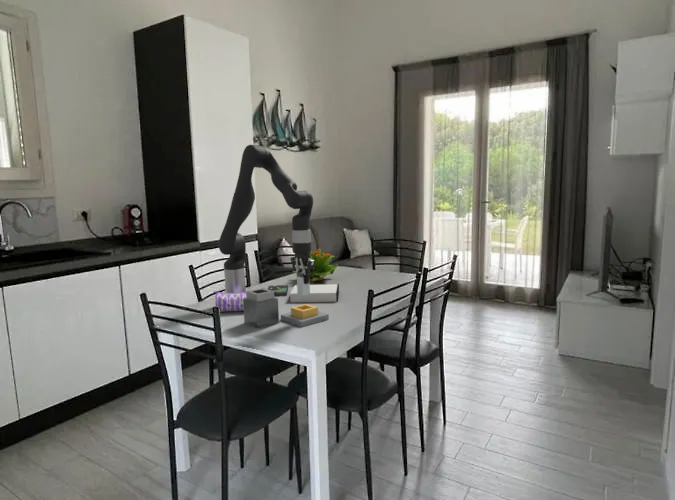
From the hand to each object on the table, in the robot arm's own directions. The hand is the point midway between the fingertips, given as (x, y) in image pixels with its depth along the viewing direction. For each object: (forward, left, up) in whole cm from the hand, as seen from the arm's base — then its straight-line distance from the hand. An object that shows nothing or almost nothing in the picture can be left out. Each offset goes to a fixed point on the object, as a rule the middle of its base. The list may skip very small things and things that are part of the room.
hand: (303, 282), depth 184 cm
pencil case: (-31, -12, -16) cm, 37 cm away
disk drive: (-47, +18, -16) cm, 53 cm away
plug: (0, 0, -5) cm, 5 cm away
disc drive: (-25, +26, -16) cm, 39 cm away
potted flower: (-57, +51, -16) cm, 79 cm away
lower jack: (0, 0, -15) cm, 15 cm away
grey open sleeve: (-9, -15, -15) cm, 23 cm away
